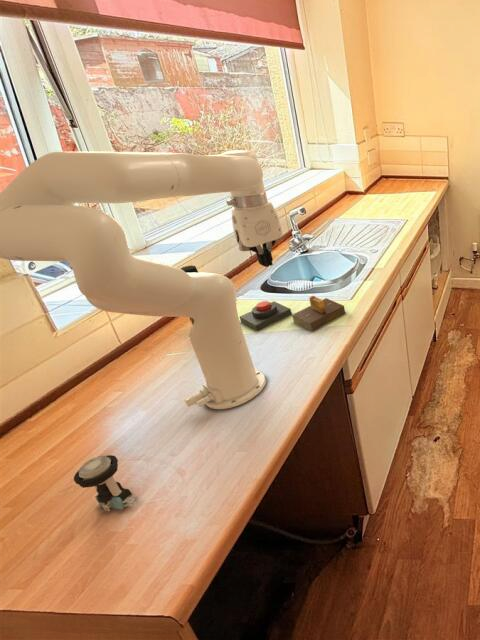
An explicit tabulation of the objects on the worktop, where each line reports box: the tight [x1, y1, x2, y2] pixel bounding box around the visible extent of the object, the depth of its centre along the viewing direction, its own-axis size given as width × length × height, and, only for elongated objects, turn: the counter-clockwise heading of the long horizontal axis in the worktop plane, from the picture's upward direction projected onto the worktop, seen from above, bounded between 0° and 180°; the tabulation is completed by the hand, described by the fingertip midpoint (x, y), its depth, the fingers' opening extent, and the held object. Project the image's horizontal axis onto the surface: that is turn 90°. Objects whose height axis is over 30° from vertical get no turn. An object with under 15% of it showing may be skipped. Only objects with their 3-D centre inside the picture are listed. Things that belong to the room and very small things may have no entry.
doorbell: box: [239, 301, 293, 332], centre depth 125 cm, size 11×9×4 cm
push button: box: [73, 454, 138, 512], centre depth 69 cm, size 7×5×10 cm
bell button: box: [255, 300, 271, 311], centre depth 124 cm, size 4×4×2 cm
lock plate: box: [292, 298, 346, 332], centre depth 126 cm, size 12×9×3 cm
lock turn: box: [309, 295, 325, 313], centre depth 125 cm, size 5×1×4 cm, turn 59°
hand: (266, 264), depth 109 cm, fingers closed
